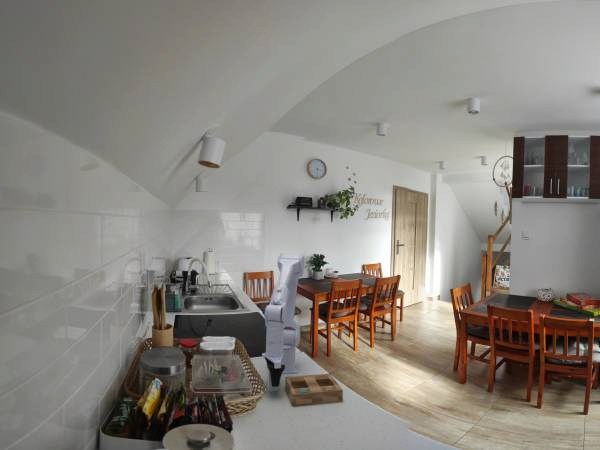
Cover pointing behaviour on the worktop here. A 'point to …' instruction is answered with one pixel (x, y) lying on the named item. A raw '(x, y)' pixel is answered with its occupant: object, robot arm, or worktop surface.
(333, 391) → the port block
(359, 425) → the worktop surface
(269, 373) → the matte gray box
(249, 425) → the worktop surface
